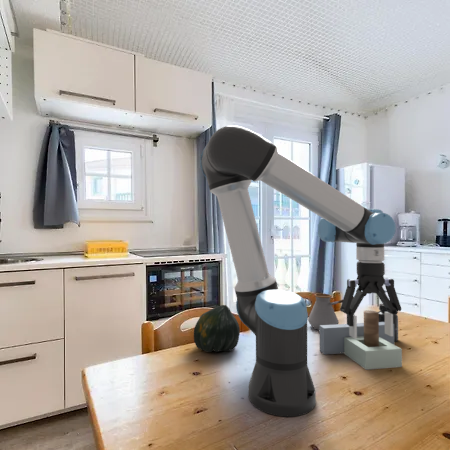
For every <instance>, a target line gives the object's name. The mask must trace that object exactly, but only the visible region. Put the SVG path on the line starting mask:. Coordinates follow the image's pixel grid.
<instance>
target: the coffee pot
mask: <svg viewBox="0 0 450 450" xmlns="http://www.w3.org/2000/svg"><path fill="white" fill-rule="evenodd" d="M314 297H315V302H314V304H313V307H312V309H311V311H310V313H309V315H308V320H307V322H308V324H309V325H310V326H311V327H312V328H313V327H314V328H315V329H314V328H313V329H314V330H318V331H319V325H336V324H339V323H340V322H339V320H338V317H337V313H336V312H335V309H334V307H333V306H334V305H336V304H342V302H343V299H340V300H337V301H333V302H331V298H332V297H333V296H332V294H329V293H314ZM352 299H353V298H352Z"/></svg>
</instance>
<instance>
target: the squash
mask: <svg viewBox="0 0 450 450" xmlns="http://www.w3.org/2000/svg"><path fill="white" fill-rule="evenodd" d="M240 330H241V329H240V324H239V322H238V320H237V318H236V317H235V316H234V314H233V313H232V311H231V309H230V308H229V307H228V306H227V305H226V304H221V305H218V306H216V307H213V308H211V309H209V310H208V311H206V312H204V313H203V314H201V315H200V316H199V318H198V319H197V321H196V323H195V326H194V327H193V341H194V344H195V346H196V347H197V349H199V350H201V351H204V352H206V353H212V352H213V351H215V352H217V353H219V352H224V351H226V352H228V351H229V352H230V351H232V350H235V348H236V347H237V346H238V343H239V339H240V335H241V334H240V333H241V331H240Z"/></svg>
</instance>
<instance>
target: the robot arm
mask: <svg viewBox="0 0 450 450" xmlns="http://www.w3.org/2000/svg"><path fill="white" fill-rule="evenodd" d="M200 156H201V157H200V169H201V172H202V174H203V176H204V177H205V179H206V180H207V184H208V189H209V192H210V193H211V194H213V195H215V196H216V197H217V202H218V205H219V209H220V213H221V217H222V220H223V226H224V229H225V234H226V238H227V242H228V245H229V250H230V254H231V257H232V261H233V265H234V269H235V273H236V277H237V283H236V285H235V286H234V287H233V288H234V292H235V296H236V303H235V307H236V312H237V314H238V318H239V319H240V321H241V323H242V324H244V325H245V326H246V327H247V328H248V329H249V330H250V332H252V333H253V335H254V336H255V364H254V367H253V370H252V373H251V376H250V379H249V382H248V399H249V401H250V403H251V404H252V405H253V406H254V407H255V408H256V409H258V410H259V411H262V412H264V413H267V414H269V415H273V416H279V417H298V416H303V415H306V414H307V413H309V412H311V411H312V410H314V408H315V406H316V402H317V399H316V397H317V394H316V393H317V391H316V388H315V385H314V381H313V378H312V375H311V372H310V369H309V366H308V365H309V364H308V318H309V315H308V309H307V308H308V307H307V302H306V301H305V298H303V297H302V296H301V295H300V294H298V293H296V292H293V291H288V290H283V289H279V287H278V283H277V279H276V278H275V277H274V276H273V275H271V274H269V269H268V265H267V261H266V258H265V254H264V249H263V245H262V241H261V236H260V232H259V230H258V226H257V221H256V218H255V217H256V216H255V213H254V209H253V208H254V207H253V205H252V200H251V196H250V192H249V187H250V185H251V184H252V182H255V183H256V182H258V181H261V182H262V183H264V184H266V185H268V186H269V187H270V188H272V189H274V190H276V191H277V192H279V193H281V194H282V195H283V196H286V197H287V198H289V199H290V200H292V201H293V202H296V203H297V204H299V205H300V206H302V207H304V208H306V209H307V210H309V211H310V212H312V213H314V214H315V215H317V216H319V217H320V220H319V221H318V224H317V234H318V236H319V239H320V240H322V242H327V243H352V244H355V243H356V244H355V246H356V249H355V250H356V253H355V254H356V260H357V262H356V275H357V277H356V279H350V278H348V279H347V280H346V289H345V292H344V296H343V299H342V300H343V302H342V303H341V305H340V308H339V311H340V312H341V313H344V314H346V324H347V325H349V336H351V337H353V338H354V339H356V338H357V323H358V322H357V320H358V319H357V318H358V317H357V315H356V314H355V313H356V312H357V310H358V308H359V306H360V304H361V303H362V302H363V299H364V298H365V297H366V296H367V294H369V295H371V294H376V295H377V297H378V298H379V300H380V301H381V304H383V305H384V306H385V308H386V310H387V311H388V312H385V334H387V335H389V336H393V324H395V314H397V315H398V313H399V312H401V311H402V307H401V303H400V301H399V297H398V294H397V292H396V288H395V279H394V278H390V277H389V278H388V277H386V278H385V276H384V275H385V273H386V271H385V269H386V267H385V263H384V262H385V244H387V243H389V242H391V241H392V239H393V238H394V236H395V234H396V230H397V225H396V222H395V219H394V218H393V217H392V216H391V215H390V214H388V213H385V212H383V210H381V209H379V208H378V209H377V208H376V209H373V208H372V209H368V208H366V207H365V206H363V205H361V204H359V203H358V202H357V201H356V200H354V199H352V198H350V197H349V196H347V195H346V194H344V193H343V192H341V191H339V189H337V188H334V186H332V185H330V184H329V183H327V182H326V181H324V180H322V179H321V178H319V177H318V176H316V175H314V173H312V172H310V171H308V170H307V169H305V168H304V167H302V166H300V165H299V164H297V163H296V162H294V161H293V160H291V159H290V158H288V157H287V156H285V155H283V154H281V153H280V152H279V150H278V145H276V144H274V143H273V142H272V141H270V140H269V139H267V138H265V137H264V136H262V135H260V134H259V133H257V132H255V131H253V130H250V129H249V128H246V127H243V126H240V125H226V126H223V127H220V128H218V129H217V130H216V131H215V132H214V133H212V135H211V137H210V138H209V140H208V142H207V144H206V145H205V147H204V148H203V150H202V152H201V155H200ZM383 261H384V262H383ZM383 286H384V287H385V289H384V288H383ZM356 287H357V289H356ZM386 293H387V294H386ZM352 298H353V299H352Z"/></svg>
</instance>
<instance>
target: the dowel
mask: <svg viewBox="0 0 450 450" xmlns="http://www.w3.org/2000/svg"><path fill="white" fill-rule="evenodd" d="M378 312H379V311H375V310H369V309H368V310H363V323H364V345H366V346H367V347H379V313H378Z"/></svg>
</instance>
